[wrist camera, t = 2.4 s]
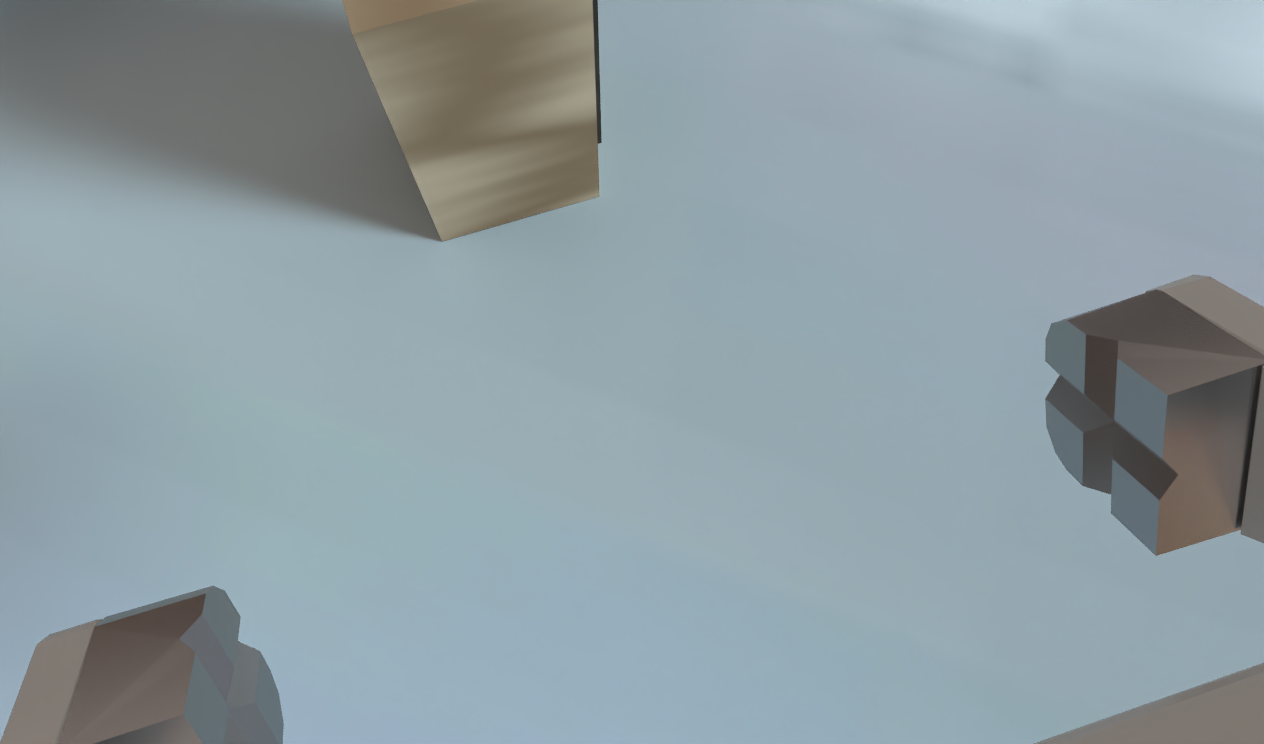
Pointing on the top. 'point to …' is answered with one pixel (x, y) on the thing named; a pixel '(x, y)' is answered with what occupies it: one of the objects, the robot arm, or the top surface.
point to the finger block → (488, 102)
